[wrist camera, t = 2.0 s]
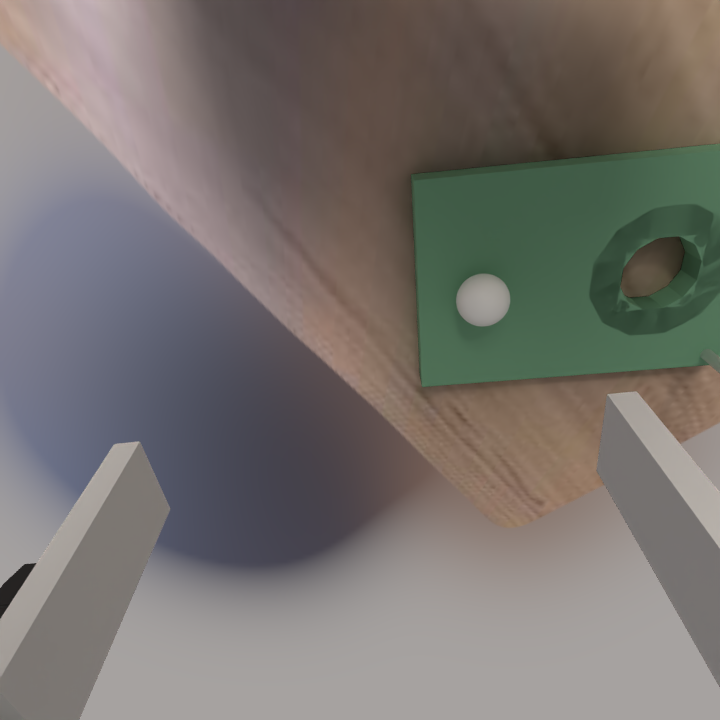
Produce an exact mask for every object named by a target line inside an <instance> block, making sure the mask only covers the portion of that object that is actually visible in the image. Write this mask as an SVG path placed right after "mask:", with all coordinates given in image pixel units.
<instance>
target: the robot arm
mask: <svg viewBox="0 0 720 720" xmlns="http://www.w3.org/2000/svg"><path fill="white" fill-rule="evenodd" d="M597 472H598V474H599V476H600V478H601V479H602V481H603V483H604V485H605V486H606V488H607V490H608V492H609V493H610V495H611V497H612V499H613V500H614V502H615V504H616V506H617V507H618V509H619V510H620V513H621V514H622V516H623V518H624V520H625V522H626V523H627V525H628V527H629V529H630V530H631V532H632V534H633V535H634V537H635V539H636V541H637V543H638V544H639V546H640V548H641V550H642V551H643V553H644V555H645V557H646V558H647V560H648V562H649V564H650V566H651V567H652V569H653V571H654V573H655V574H656V576H657V578H658V579H659V581H660V583H661V585H662V587H663V588H664V590H665V592H666V594H667V595H668V597H669V599H670V601H671V602H672V604H673V606H674V608H675V610H676V611H677V613H678V615H679V617H680V618H681V620H682V622H683V623H684V625H685V627H686V629H687V631H688V632H689V634H690V636H691V638H692V639H693V641H694V643H695V645H696V646H697V648H698V650H699V652H700V653H701V655H702V657H703V659H704V660H705V662H706V664H707V666H708V668H709V669H710V671H711V673H712V675H713V676H714V678H715V680H716V682H717V683H718V685H719V687H720V492H719V491H718V489H717V488H716V487H715V486H714V485H713V483H712V482H711V481H710V480H709V479H708V477H707V476H706V475H705V474H704V472H703V471H702V470H701V469H700V468H699V466H698V465H697V464H696V463H695V462H694V460H693V459H692V458H691V457H690V456H689V454H688V453H687V452H686V451H685V450H684V448H683V447H682V446H681V445H680V443H679V442H678V441H677V440H676V439H675V437H674V436H673V435H672V434H671V432H670V431H669V430H668V429H667V428H666V426H665V425H664V424H663V423H662V422H661V420H660V419H659V418H658V417H657V416H656V414H655V413H654V412H653V411H652V409H651V408H650V407H649V406H648V405H647V403H646V402H645V401H644V400H643V399H642V397H641V396H640V395H639V394H638V393H637V391H634V392H624V393H615V394H607V399H606V406H605V413H604V420H603V427H602V434H601V441H600V449H599V456H598V463H597ZM169 511H170V507H169V505H168V503H167V501H166V498H165V496H164V494H163V492H162V490H161V487H160V485H159V483H158V481H157V479H156V476H155V474H154V472H153V470H152V468H151V466H150V463H149V461H148V459H147V457H146V454H145V452H144V450H143V448H142V446H141V443H140V442H132V443H121V444H114V445H113V447H112V449H111V450H110V452H109V453H108V455H107V456H106V458H105V459H104V461H103V462H102V464H101V465H100V467H99V468H98V470H97V472H96V473H95V475H94V476H93V478H92V479H91V481H90V482H89V484H88V486H87V487H86V488H85V490H84V492H83V493H82V495H81V496H80V498H79V499H78V501H77V502H76V504H75V505H74V507H73V508H72V510H71V511H70V513H69V514H68V516H67V518H66V519H65V521H64V522H63V524H62V525H61V527H60V528H59V530H58V531H57V533H56V534H55V536H54V538H53V539H52V541H51V542H50V544H49V545H48V547H47V548H46V550H45V551H44V553H43V555H42V556H41V557H40V559H39V561H38V562H37V563H34V564H25V565H23V566H22V567H21V568H20V569H19V570H18V571H17V572H16V573H15V574H14V575H13V576H12V577H10V578H9V579H8V580H7V581H6V582H5V583H4V584H3V585H2V587H1V588H0V720H79V719H80V717H81V714H82V712H83V710H84V707H85V705H86V703H87V700H88V698H89V696H90V693H91V691H92V689H93V686H94V684H95V682H96V680H97V677H98V675H99V673H100V670H101V668H102V666H103V663H104V661H105V659H106V657H107V654H108V652H109V650H110V647H111V645H112V643H113V640H114V638H115V635H116V633H117V631H118V629H119V626H120V624H121V622H122V620H123V617H124V615H125V613H126V610H127V608H128V606H129V603H130V601H131V599H132V596H133V594H134V592H135V590H136V587H137V585H138V583H139V580H140V578H141V576H142V573H143V571H144V569H145V566H146V564H147V562H148V559H149V557H150V555H151V553H152V550H153V548H154V546H155V543H156V541H157V539H158V536H159V534H160V532H161V529H162V527H163V524H164V522H165V520H166V518H167V515H168V513H169Z"/></svg>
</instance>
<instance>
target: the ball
mask: <svg viewBox="0 0 720 720" xmlns="http://www.w3.org/2000/svg"><path fill="white" fill-rule="evenodd" d="M456 305H457V309H458V312H459V313H460V315H461V316H462V318H463V319H464V320H465V321H467V322H468V323H470V324H472V325H475V326H481V327H483V326H490V325H493V324H495V323H497V322H498V321H500V320H501V319H502V318H503V317H504V316H505V314H506V313H507V311H508V309H509V306H510V293H509V290H508V288H507V286H506V284H505V283H504V282H503V281H502V280H501V279H500V278H498V277H496V276H494V275H491V274H477V275H474V276H471V277H470V278H468V279H467V280H465V281H464V282H463V284H462V285H461V286H460V288H459V290H458V292H457V296H456Z"/></svg>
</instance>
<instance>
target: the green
mask: <svg viewBox="0 0 720 720" xmlns="http://www.w3.org/2000/svg"><path fill="white" fill-rule="evenodd" d="M411 185H412V208H413V231H414V255H415V278H416V301H417V325H418V348H419V371H420V378H421V384H422V387H428V386H441V385H454V384H467V383H480V382H493V381H506V380H519V379H532V378H546V377H559V376H572V375H585V374H598V373H611V372H624V371H637V370H650V369H664V368H677V367H690V366H703V365H710V366H712V367H713V368H714V369H715V370H716V371H717V372H718V373H720V144H711V145H701V146H691V147H681V148H671V149H661V150H651V151H641V152H630V153H620V154H610V155H600V156H590V157H580V158H570V159H560V160H550V161H540V162H529V163H519V164H509V165H499V166H489V167H479V168H469V169H459V170H449V171H439V172H429V173H418V174H411ZM677 236H679V237H680V240H681V242H682V245H683V247H684V250H685V254H684V258H683V262H682V267H681V270H680V271H679V273H678V274H677V275H676V276H675V277H674V279H673V280H672V281H671V282H670V284H669V285H668V286H667V287H665V288H663V289H661V290H659V291H657V292H656V293H654V294H652V295H650V296H645V297H633V298H629V297H627V296H625V295H624V294H623V292H622V290H621V288H620V285H621V279H622V274H623V268H624V267H625V265H626V264H627V263H628V261H629V260H630V259H631V257H632V256H633V255H634V253H635V252H636V251H637V250H638V249H640V248H642V247H643V246H645V245H647V244H648V243H650V242H652V241H654V240H655V239H657V238H665V237H677ZM477 274H491V275H494V276H496V277H498V278H500V279H501V280H502V281H503V282H504V283H505V284H506V286H507V288H508V290H509V293H510V306H509V309H508V311H507V313H506V314H505V316H504V317H503V318H502V319H501V320H500V321H498V322H497V323H495V324H493V325H490V326H483V327H481V326H475V325H472V324H470V323H468V322H467V321H465V320H464V319H463V318H462V316H461V315H460V313H459V312H458V309H457V305H456V296H457V292H458V290H459V288H460V286H461V285H462V284H463V282H464V281H465V280H467V279H468V278H470V277H471V276H474V275H477Z"/></svg>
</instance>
